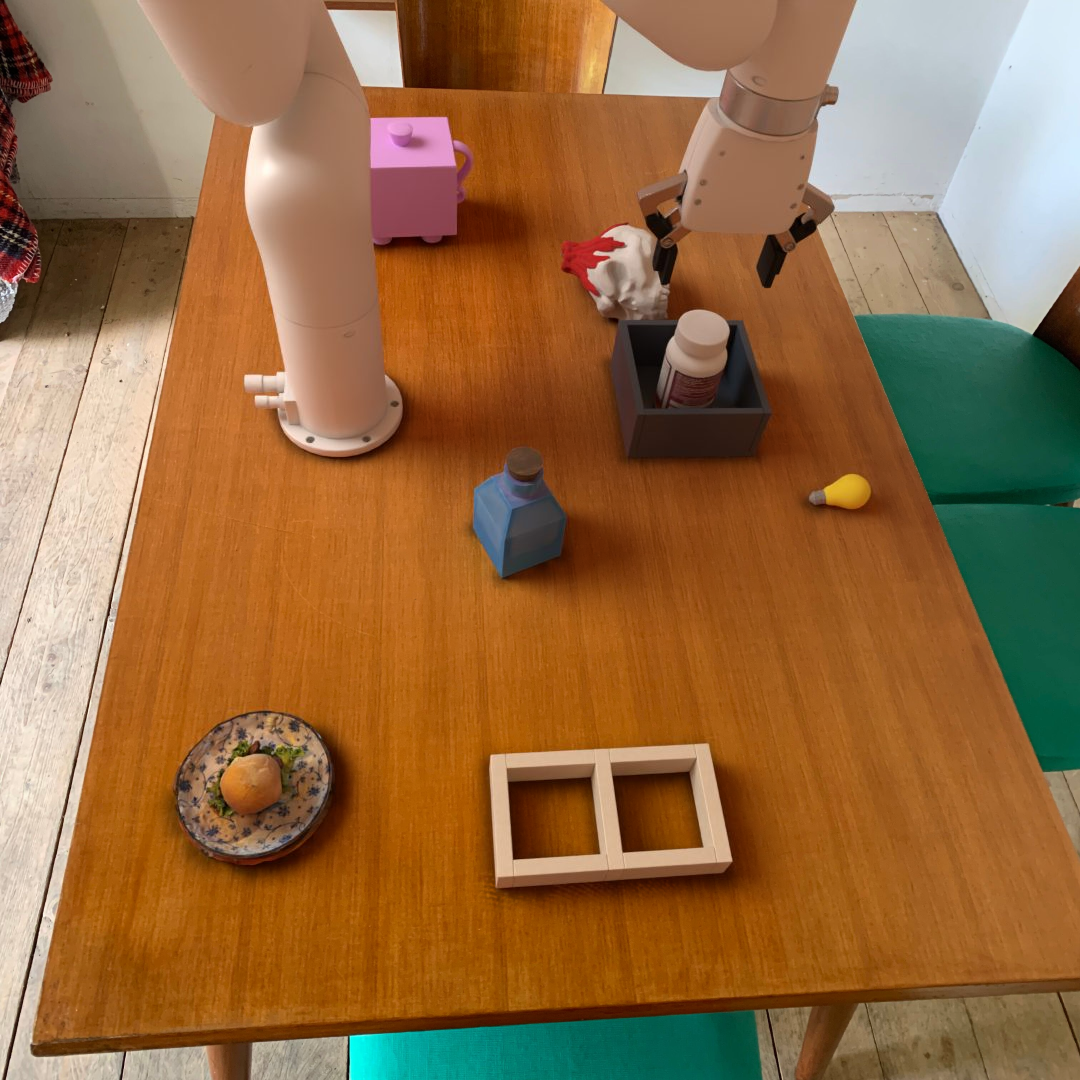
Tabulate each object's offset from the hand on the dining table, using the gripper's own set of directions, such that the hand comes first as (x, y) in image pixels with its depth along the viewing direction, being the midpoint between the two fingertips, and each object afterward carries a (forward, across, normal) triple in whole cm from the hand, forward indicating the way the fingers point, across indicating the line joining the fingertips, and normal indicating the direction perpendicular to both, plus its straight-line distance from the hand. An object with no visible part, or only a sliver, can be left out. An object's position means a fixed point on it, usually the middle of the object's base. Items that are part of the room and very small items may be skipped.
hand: (712, 277), depth 85 cm
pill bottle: (+17, -1, 0) cm, 17 cm away
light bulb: (+18, -15, +13) cm, 26 cm away
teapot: (+19, +30, -32) cm, 48 cm away
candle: (+18, +4, -18) cm, 26 cm away
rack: (+18, +13, +44) cm, 49 cm away
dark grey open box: (+18, -1, 0) cm, 18 cm away
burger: (+19, +40, +40) cm, 60 cm away
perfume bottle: (+18, +18, +17) cm, 31 cm away
